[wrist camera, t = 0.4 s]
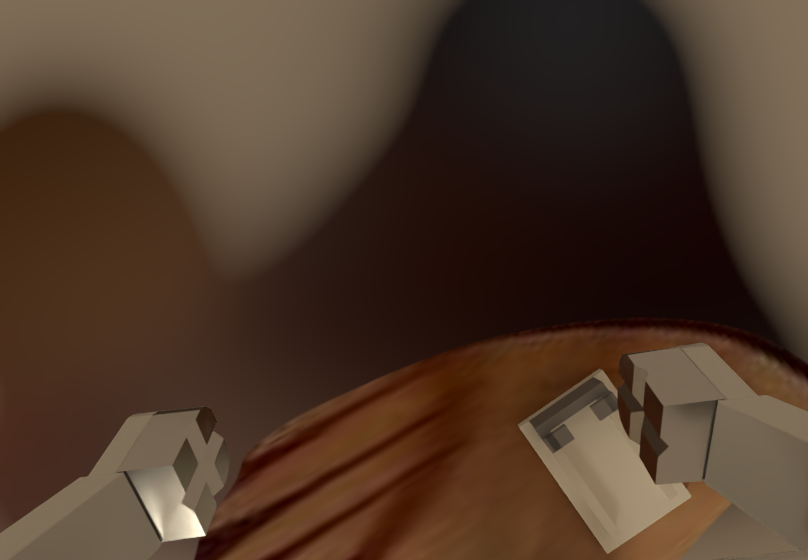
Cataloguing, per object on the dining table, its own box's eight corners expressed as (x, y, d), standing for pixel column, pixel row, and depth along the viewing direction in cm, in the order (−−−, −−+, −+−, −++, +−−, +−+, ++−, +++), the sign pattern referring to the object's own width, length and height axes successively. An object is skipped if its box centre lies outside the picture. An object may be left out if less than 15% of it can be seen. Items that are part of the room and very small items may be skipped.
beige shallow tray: (686, 492, 62) (714, 513, 56) (603, 548, 62) (622, 575, 56) (599, 368, 62) (617, 376, 56) (517, 424, 62) (527, 439, 57)
